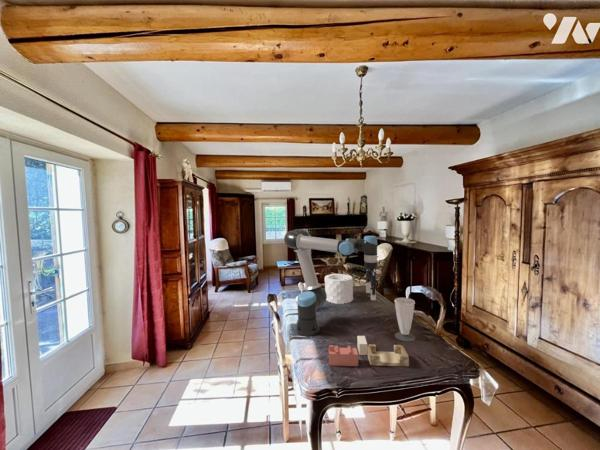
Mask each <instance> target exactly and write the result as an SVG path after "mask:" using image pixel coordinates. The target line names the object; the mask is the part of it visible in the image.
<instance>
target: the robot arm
mask: <svg viewBox="0 0 600 450" xmlns="http://www.w3.org/2000/svg"><path fill="white" fill-rule="evenodd" d="M283 241H284V245H286V246H287V248H291V249H293V252H295V253H296V254H297V257H298V261H299V262H298V263H299V265H300V268H301V269H300V270H301V272H302V276H303V280H304V283H305V284H306V288H305V289H304V291H303V292H302V293H301V292H300V293H299V294H298V295H297V296H298V300H297V303H298V305H297V321H296V324H295V332H296V334H298V335H300V336H306V337H308V336H311V337H312V336H314V335H315V336H316V335H317V334H318V333H319V332H320V325H319V322H318V319H317V310H318V309H319V308H320V307H322V306H323V305H325V303H326V301H327V300H326V299H327V294H326V291H325V288H323V286H322V284H320V283H319V281H318V277H317V274H316V269H315V266H314V262H313V259H312V255H311V253H310V252H311V251H310V250H317V251H324V252H330V253H339V254H341V255H343V256H350V255H351V254H353V253H355V252H363V253H364V254H363V256H364V257H363V261H364V268H365V269H366V271H365V278H364V280H365V282H366V283H365V293H366V294H370V301H376V300H377V290H378V286H377V277H376V271H375V270H377V268H378V258H379V256H378V237H377V236H376V235H365V236H364V237H363V238H351V237H350V238H346V239H345V240H344V239H343V240H342V239H335V238H325V237H317V236H311V235H310V233H309V232H308V231H307V230H306V229H302V228H299V229H294V230H293V229H292V230H289V231H288V232H286V233H285V235H284V237H283Z"/></svg>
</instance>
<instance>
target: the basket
mask: <svg viewBox="0 0 600 450" xmlns="http://www.w3.org/2000/svg"><path fill="white" fill-rule="evenodd" d="M324 290H325V291H326V294H327V299H326V301H327V302H328V303H330V302H331V304H338V305H341V304H342V305H345V304H348V303H351V302H352V301H354V282H353V276H352V275H349V274H344V273H330V274H327V275H325V276H324ZM344 303H345V304H344Z"/></svg>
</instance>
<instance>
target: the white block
mask: <svg viewBox="0 0 600 450" xmlns="http://www.w3.org/2000/svg"><path fill="white" fill-rule="evenodd" d="M356 339H357V340H356V341H357V351H358V356H368V355H367V345H368V342H367V338H366V336H365V335H357V338H356Z"/></svg>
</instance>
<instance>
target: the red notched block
mask: <svg viewBox="0 0 600 450" xmlns="http://www.w3.org/2000/svg"><path fill="white" fill-rule="evenodd" d="M328 365H329V366H333V367H334V366H335V367H336V366H337V367H338V366H339V367H340V366H341V367H342V366H343V367H359V351H358V347H351V345H347V347H339V346H338V345H332V344H331V345H328Z"/></svg>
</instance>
